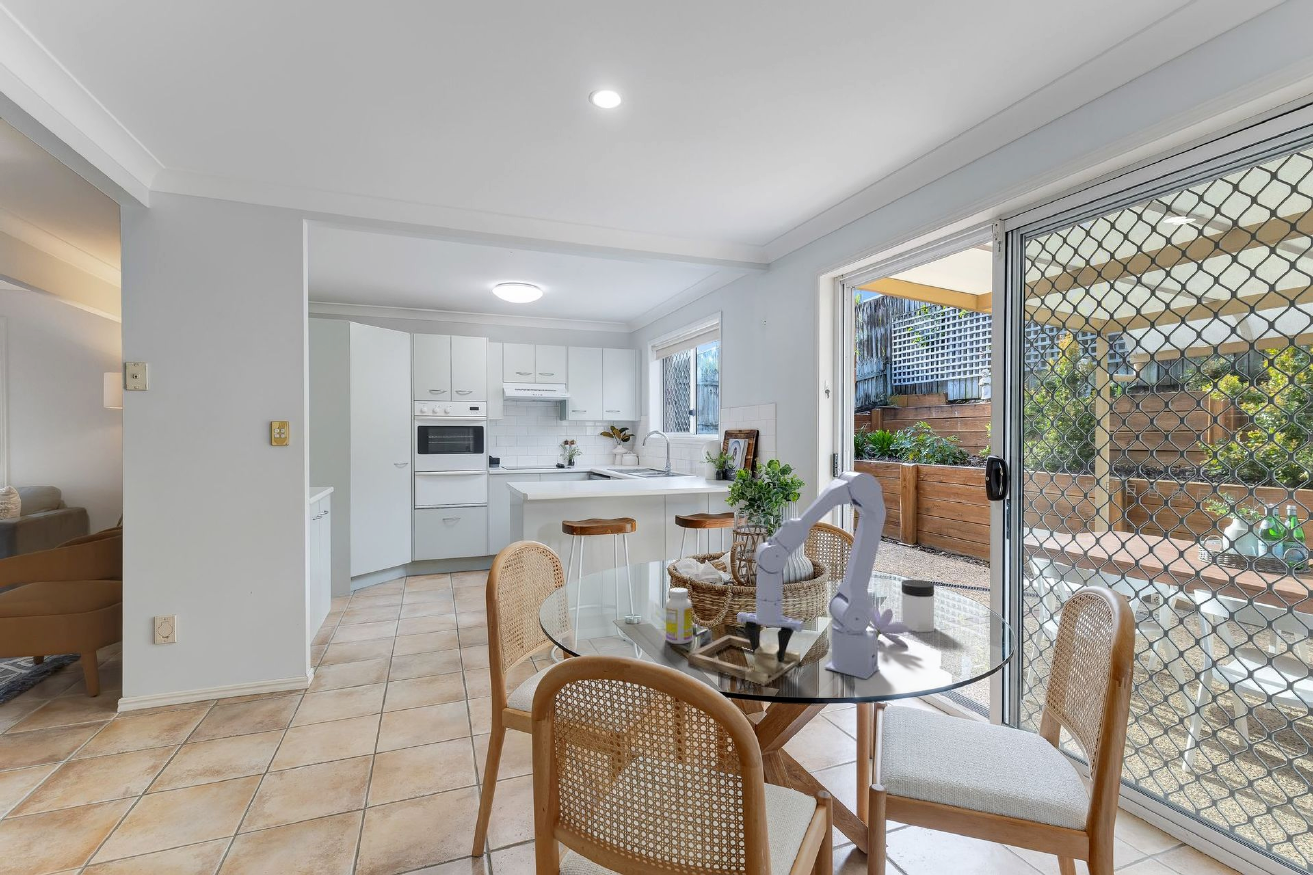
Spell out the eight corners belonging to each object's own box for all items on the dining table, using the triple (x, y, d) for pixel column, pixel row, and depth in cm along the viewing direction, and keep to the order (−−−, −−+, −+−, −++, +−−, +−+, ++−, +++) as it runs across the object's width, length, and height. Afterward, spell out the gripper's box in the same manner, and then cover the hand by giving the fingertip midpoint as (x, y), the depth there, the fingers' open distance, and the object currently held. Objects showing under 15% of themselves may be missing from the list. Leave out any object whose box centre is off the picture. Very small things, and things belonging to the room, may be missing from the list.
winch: (704, 641, 151) (704, 619, 151) (714, 643, 149) (714, 622, 149) (688, 649, 146) (688, 627, 146) (698, 652, 144) (698, 629, 144)
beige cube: (782, 667, 136) (782, 645, 136) (774, 677, 130) (774, 654, 130) (763, 663, 138) (763, 641, 138) (754, 673, 132) (754, 650, 132)
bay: (800, 661, 138) (800, 653, 138) (764, 686, 125) (764, 676, 125) (727, 642, 151) (727, 634, 151) (688, 662, 137) (688, 654, 137)
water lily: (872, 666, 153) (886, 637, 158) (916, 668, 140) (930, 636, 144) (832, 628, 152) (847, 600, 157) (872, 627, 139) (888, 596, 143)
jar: (940, 628, 162) (941, 584, 162) (926, 635, 157) (926, 589, 157) (909, 620, 169) (909, 577, 169) (893, 626, 164) (894, 582, 163)
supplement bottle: (690, 635, 155) (690, 586, 155) (693, 644, 149) (693, 593, 149) (664, 635, 155) (665, 586, 155) (666, 645, 149) (666, 593, 148)
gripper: (806, 597, 134) (805, 658, 134) (744, 589, 141) (743, 647, 141) (798, 605, 128) (798, 669, 128) (733, 596, 134) (733, 657, 134)
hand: (768, 658), depth 134 cm, fingers open, 5 cm apart
